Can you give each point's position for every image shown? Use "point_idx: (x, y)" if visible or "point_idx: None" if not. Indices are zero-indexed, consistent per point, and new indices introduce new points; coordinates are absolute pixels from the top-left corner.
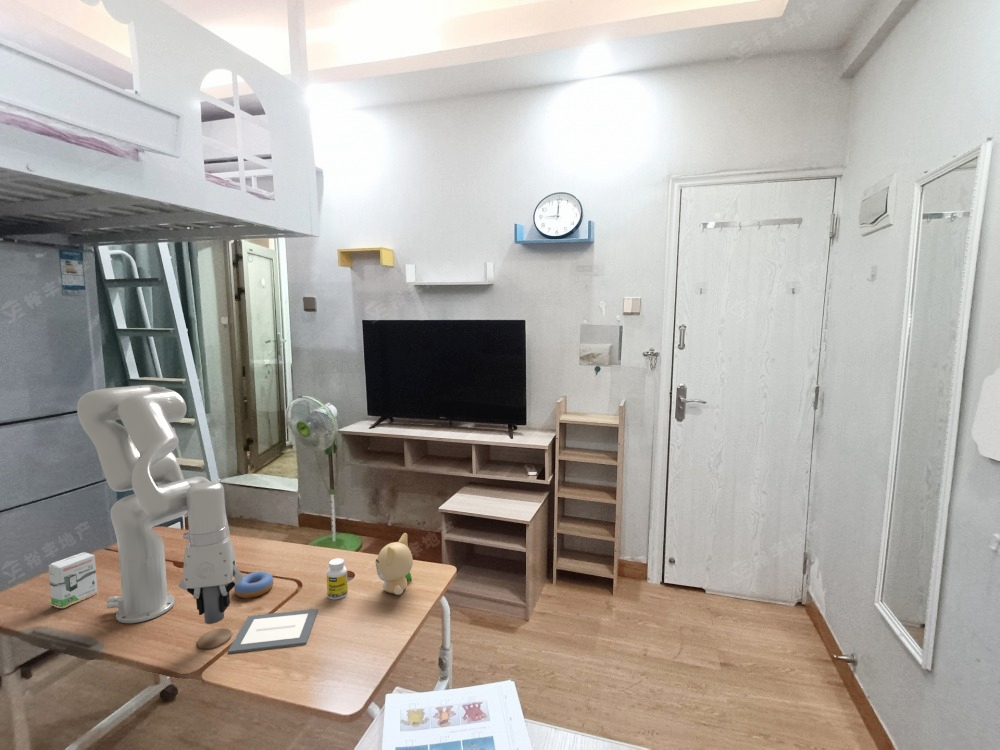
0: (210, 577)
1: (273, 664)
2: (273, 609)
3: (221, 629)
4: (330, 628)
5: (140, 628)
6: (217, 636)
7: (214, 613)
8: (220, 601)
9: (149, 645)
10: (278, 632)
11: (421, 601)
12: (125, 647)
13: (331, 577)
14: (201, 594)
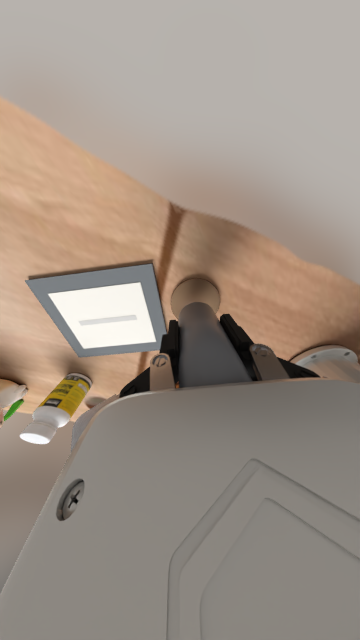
0: (217, 484)
1: (39, 218)
2: (145, 360)
3: None
4: (25, 317)
5: (315, 335)
6: None
7: (189, 314)
8: (173, 337)
9: (295, 295)
10: (95, 309)
11: None
12: (332, 293)
13: (50, 406)
14: (245, 360)
